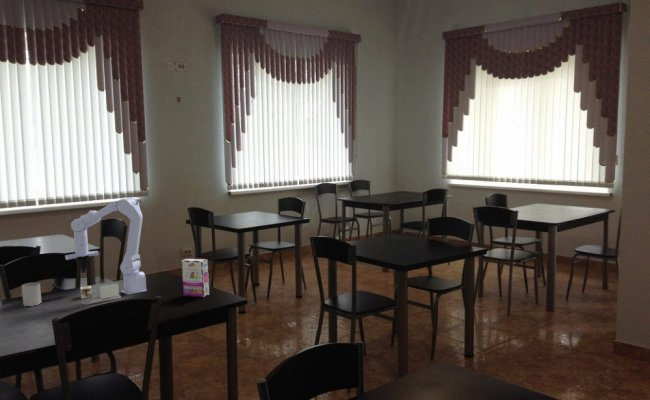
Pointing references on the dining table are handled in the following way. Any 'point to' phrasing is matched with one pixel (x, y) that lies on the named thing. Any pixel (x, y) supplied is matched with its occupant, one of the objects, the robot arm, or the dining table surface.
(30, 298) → the cup
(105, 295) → the grey flat block
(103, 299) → the rail
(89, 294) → the letter block
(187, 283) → the candy bar box
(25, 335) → the dining table surface
